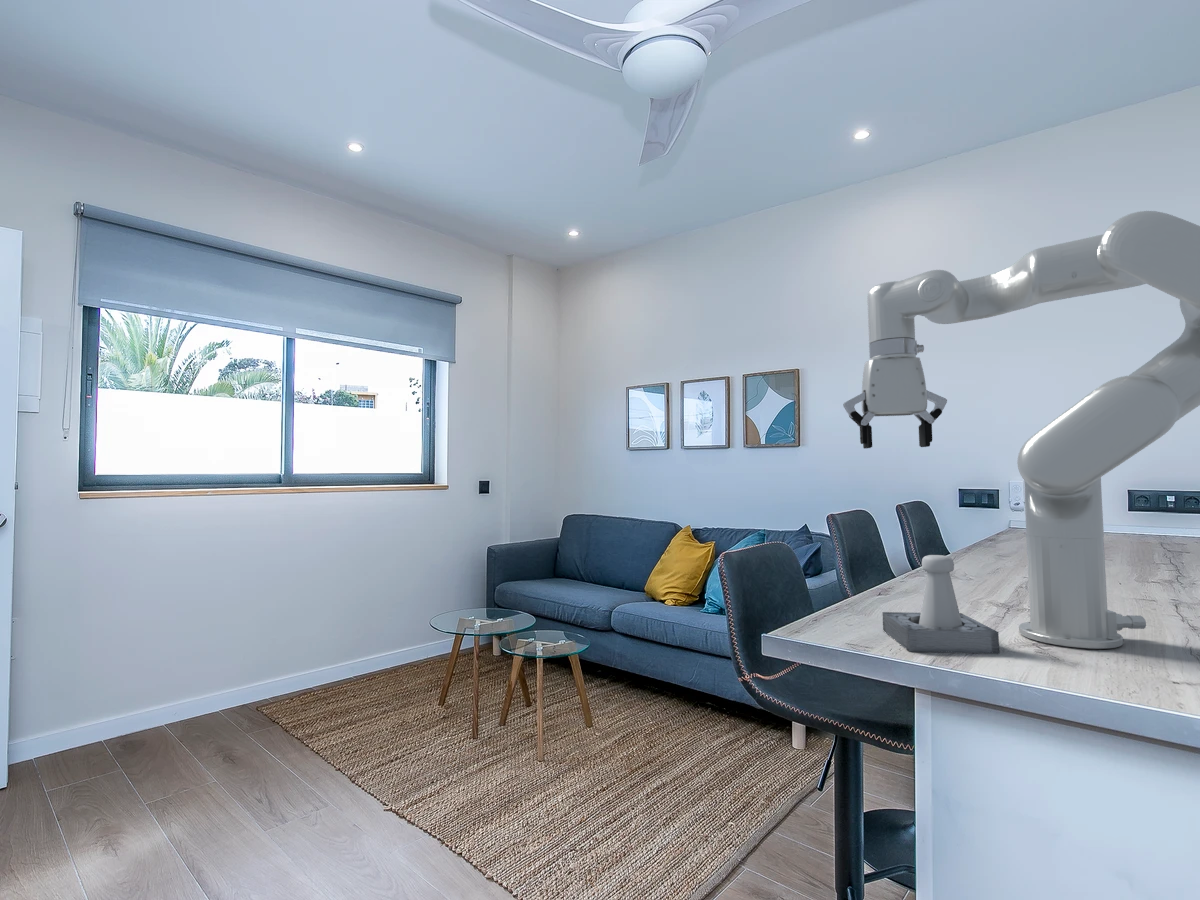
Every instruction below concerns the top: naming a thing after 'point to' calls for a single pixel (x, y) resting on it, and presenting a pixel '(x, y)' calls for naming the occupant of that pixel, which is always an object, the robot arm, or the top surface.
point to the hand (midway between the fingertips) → (896, 447)
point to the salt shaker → (939, 594)
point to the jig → (940, 635)
